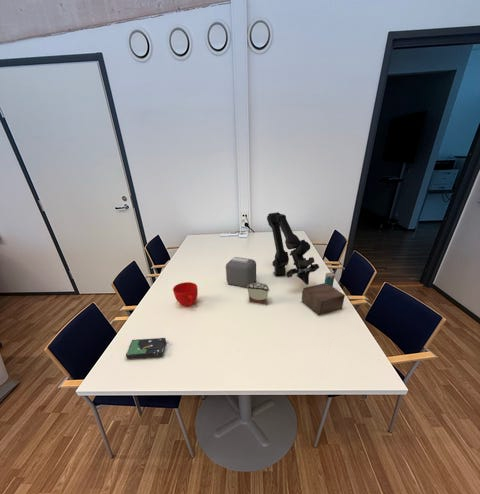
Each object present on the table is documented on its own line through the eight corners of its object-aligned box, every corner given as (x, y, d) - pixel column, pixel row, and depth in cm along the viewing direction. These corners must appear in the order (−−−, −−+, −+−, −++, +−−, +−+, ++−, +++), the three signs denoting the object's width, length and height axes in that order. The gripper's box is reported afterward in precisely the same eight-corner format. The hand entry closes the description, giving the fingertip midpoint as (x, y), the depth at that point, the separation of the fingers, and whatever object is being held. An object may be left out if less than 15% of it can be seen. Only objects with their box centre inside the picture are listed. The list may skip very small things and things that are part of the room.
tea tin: (325, 292, 153) (327, 276, 147) (321, 288, 157) (324, 273, 151) (333, 291, 153) (336, 275, 148) (329, 287, 157) (332, 272, 152)
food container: (271, 299, 148) (271, 283, 142) (268, 305, 143) (269, 288, 138) (250, 296, 152) (250, 281, 146) (247, 302, 147) (246, 285, 141)
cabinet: (301, 301, 145) (303, 288, 140) (323, 296, 149) (325, 282, 145) (318, 315, 133) (321, 301, 128) (341, 309, 137) (344, 294, 133)
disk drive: (166, 342, 120) (133, 344, 119) (165, 337, 118) (131, 339, 117) (162, 357, 111) (126, 359, 110) (161, 352, 110) (125, 354, 109)
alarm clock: (256, 281, 168) (256, 258, 159) (249, 289, 159) (248, 264, 151) (233, 277, 174) (232, 254, 165) (225, 284, 165) (223, 261, 156)
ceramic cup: (182, 315, 138) (179, 298, 132) (173, 301, 150) (170, 285, 145) (205, 308, 142) (203, 292, 137) (194, 295, 155) (192, 280, 149)
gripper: (290, 255, 140) (300, 282, 138) (319, 249, 145) (329, 275, 143) (282, 264, 150) (290, 289, 148) (309, 258, 156) (318, 283, 154)
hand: (307, 284), depth 148 cm, fingers closed
